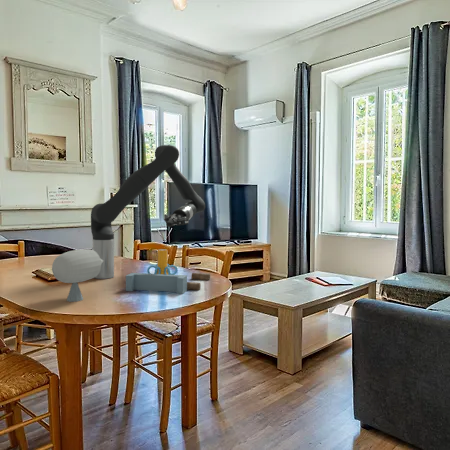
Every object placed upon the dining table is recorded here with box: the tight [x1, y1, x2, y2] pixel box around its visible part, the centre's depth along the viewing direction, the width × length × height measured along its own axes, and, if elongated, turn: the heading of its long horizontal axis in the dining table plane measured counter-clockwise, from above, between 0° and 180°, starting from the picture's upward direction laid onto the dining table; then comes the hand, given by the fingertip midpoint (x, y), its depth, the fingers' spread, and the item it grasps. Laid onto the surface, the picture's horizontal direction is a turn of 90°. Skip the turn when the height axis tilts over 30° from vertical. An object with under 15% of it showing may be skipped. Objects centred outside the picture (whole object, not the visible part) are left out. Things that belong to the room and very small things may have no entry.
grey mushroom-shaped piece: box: [51, 248, 103, 303], centre depth 143 cm, size 15×20×18 cm
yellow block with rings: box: [146, 248, 178, 275], centre depth 166 cm, size 12×10×15 cm
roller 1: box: [187, 281, 202, 291], centre depth 161 cm, size 8×3×3 cm, turn 81°
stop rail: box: [125, 272, 188, 295], centre depth 158 cm, size 23×6×6 cm, turn 81°
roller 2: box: [191, 272, 211, 281], centre depth 181 cm, size 8×3×3 cm
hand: (168, 224), depth 181 cm, fingers closed
